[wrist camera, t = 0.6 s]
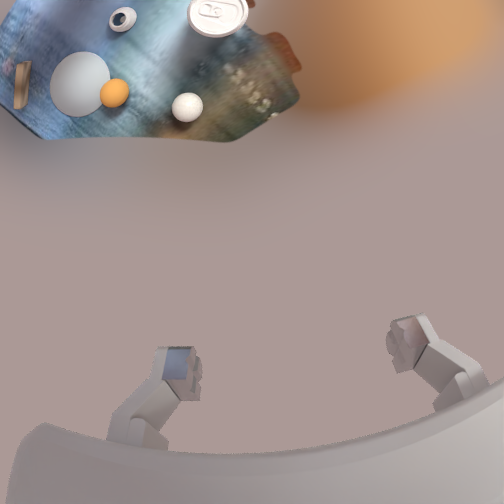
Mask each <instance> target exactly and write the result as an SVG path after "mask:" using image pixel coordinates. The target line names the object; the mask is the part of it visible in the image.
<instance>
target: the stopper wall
mask: <svg viewBox="0 0 504 504" xmlns="http://www.w3.org/2000/svg"><path fill="white" fill-rule="evenodd" d="M31 63H32V61H24V62H21V63H19V64H17V68H16V78H15V90H14V109H21V108H23V107H24V106H25V105H27V104H28V90H29V80H30V71H31Z"/></svg>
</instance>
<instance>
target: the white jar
mask: <svg viewBox="0 0 504 504" xmlns="http://www.w3.org/2000/svg"><path fill="white" fill-rule="evenodd" d="M118 13H123V14H124V15H125V16H126V17H125V16H123V17H121V18H120V22H124V23H123V24H122V25H120V26H115V25H114V23H113V20H114V17H115V15H116V14H118ZM136 18H137V16H136V12H135V11H134V10H133V9H132V8H129V7H122V8H119V9H117V10H116V11H115V12H113V13H112V15H111V17H110V19H109V25H110V27H111V29H112V30H114V31H116V32H123V31H126V30H128V29H130V28H131V27H132V26H133V25H134V23H135V22H136Z"/></svg>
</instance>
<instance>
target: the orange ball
mask: <svg viewBox="0 0 504 504" xmlns="http://www.w3.org/2000/svg"><path fill="white" fill-rule="evenodd" d="M128 95H129V87H128V85H127V83H126V82H125V81H123V80H121V79H112V80H109V81H108V82H106V83H105V84H104V85H103V86H102V88H101V90H100V100H101V102H102V103H103V104H104V105H105V106H107V107H118V106H120V105H121V104H123V103H124V102H125V101H126V99H127V98H128Z"/></svg>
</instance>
